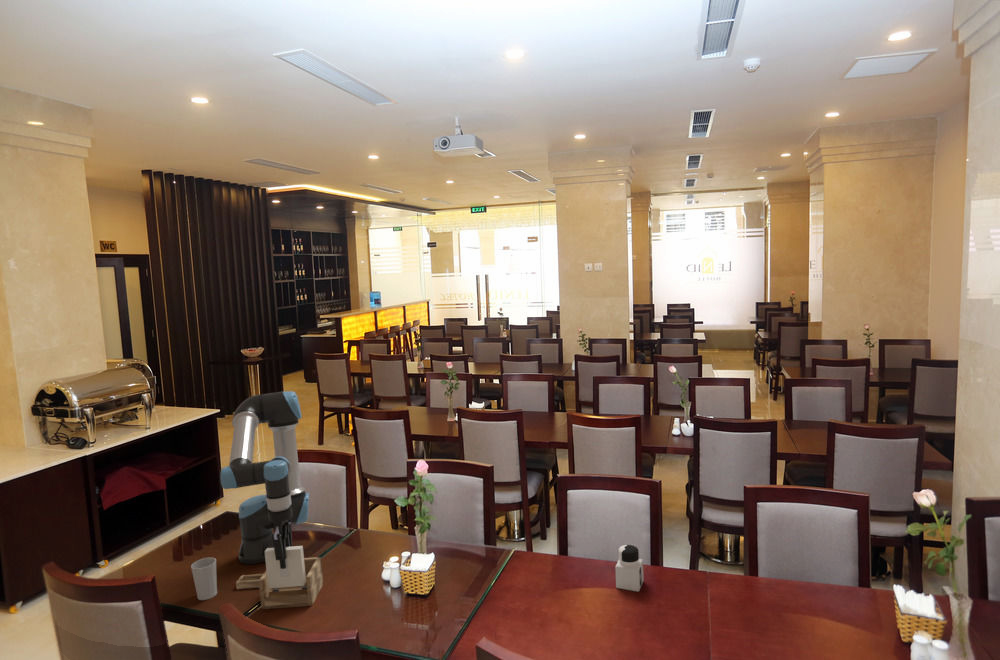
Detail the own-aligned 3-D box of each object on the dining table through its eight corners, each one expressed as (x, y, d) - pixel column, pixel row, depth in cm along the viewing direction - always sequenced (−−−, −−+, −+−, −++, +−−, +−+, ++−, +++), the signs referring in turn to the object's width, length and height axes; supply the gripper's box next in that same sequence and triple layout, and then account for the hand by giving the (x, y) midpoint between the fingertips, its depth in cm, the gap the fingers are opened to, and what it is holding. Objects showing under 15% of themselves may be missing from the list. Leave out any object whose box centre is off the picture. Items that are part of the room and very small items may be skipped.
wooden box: (275, 586, 211) (273, 560, 210) (323, 583, 212) (320, 556, 211) (261, 609, 197) (258, 581, 196) (312, 605, 198) (309, 577, 197)
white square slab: (271, 584, 201) (267, 547, 199) (306, 581, 201) (302, 545, 200) (268, 588, 198) (264, 551, 197) (304, 585, 198) (300, 548, 197)
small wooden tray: (242, 581, 216) (241, 575, 216) (281, 578, 217) (281, 572, 216) (236, 589, 211) (235, 582, 211) (277, 586, 212) (276, 579, 211)
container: (643, 580, 200) (642, 544, 199) (639, 592, 193) (637, 554, 192) (621, 576, 204) (619, 541, 202) (615, 588, 197) (614, 551, 195)
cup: (209, 602, 204) (205, 569, 203) (189, 600, 205) (185, 568, 204) (224, 589, 212) (221, 557, 210) (205, 588, 213) (201, 557, 212)
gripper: (276, 499, 204) (283, 563, 207) (259, 517, 189) (267, 587, 191) (298, 497, 204) (304, 562, 207) (283, 516, 189) (290, 585, 191)
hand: (286, 573), depth 199 cm, fingers closed on white square slab, 2 cm apart
